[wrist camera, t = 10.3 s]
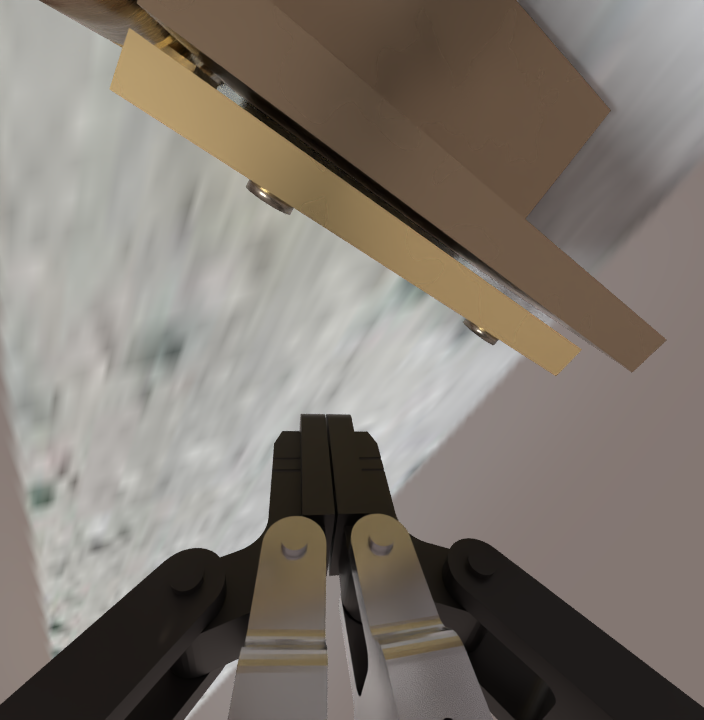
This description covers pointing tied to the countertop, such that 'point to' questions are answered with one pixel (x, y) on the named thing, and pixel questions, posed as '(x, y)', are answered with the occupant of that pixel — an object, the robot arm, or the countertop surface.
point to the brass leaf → (320, 194)
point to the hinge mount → (417, 121)
